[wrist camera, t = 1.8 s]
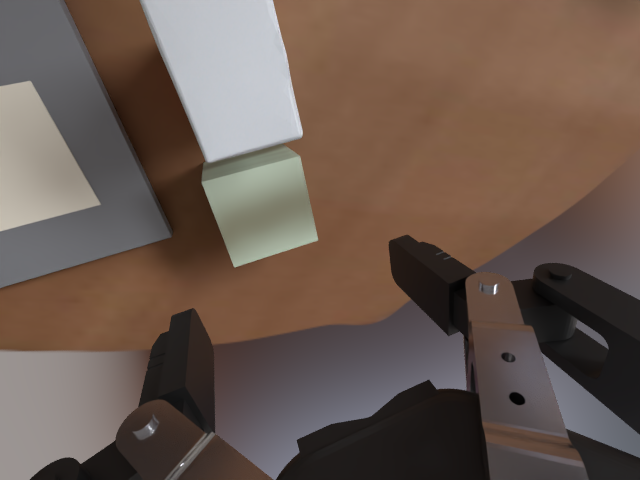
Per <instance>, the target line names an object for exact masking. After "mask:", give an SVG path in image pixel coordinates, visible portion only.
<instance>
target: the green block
mask: <svg viewBox="0 0 640 480" xmlns="http://www.w3.org/2000/svg"><path fill="white" fill-rule="evenodd" d="M202 185H203V187H204V190H205V193H206V195H207V198H208V200H209V203H210V206H211V208H212V211H213V213H214V216H215V219H216V221H217V224H218V226H219V229H220V232H221V234H222V237H223V239H224V242H225V245H226V247H227V250H228V252H229V255H230V258H231V260H232V263H233V265H234V267H237V266H240V265H243V264H246V263H249V262H253V261H256V260H259V259H262V258H265V257H268V256H271V255H274V254H277V253H280V252H283V251H286V250H289V249H293V248H296V247H299V246H302V245H305V244H308V243H311V242H314V241H317V240H318V237H317V232H316V228H315V223H314V218H313V214H312V209H311V205H310V200H309V195H308V191H307V186H306V182H305V177H304V172H303V168H302V163H301V159H300V156H299V155H298V154H296V153H295V152H294V151H292V150H291V149H289V148H288V147H286V146H285V145H283V144H279V145H275V146H272V147H268V148H264V149H261V150H257V151H253V152H249V153H246V154H242V155H238V156H235V157H231V158H227V159H223V160H220V161H216V162H212V163H207V162H203V171H202Z"/></svg>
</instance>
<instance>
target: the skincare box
mask: <svg viewBox="0 0 640 480" xmlns="http://www.w3.org/2000/svg"><path fill="white" fill-rule="evenodd" d="M140 3H141V5H142V8H143V11H144V13H145V16H146V19H147V21H148V24H149V26H150V29H151V32H152V34H153V37H154V39H155V42H156V44H157V46H158V49H159V51H160V54H161V56H162V59H163V61H164V63H165V65H166V68H167V70H168V72H169V74H170V77H171V79H172V81H173V84H174V86H175V88H176V91H177V93H178V95H179V98H180V100H181V102H182V105H183V107H184V110H185V112H186V114H187V117H188V119H189V122H190V124H191V126H192V129H193V131H194V134H195V136H196V138H197V141H198V143H199V146H200V148H201V150H202V153H203V156H204V158H205V161H206V162H207V163H212V162H216V161H220V160H223V159H227V158H231V157H235V156H238V155H242V154H246V153H249V152H253V151H257V150H261V149H264V148H268V147H272V146H275V145H279V144H282V143H286V142H289V141H293V140H297V139H300V138H301V137H302V135H303V131H302V127H301V122H300V118H299V114H298V110H297V106H296V101H295V96H294V92H293V88H292V83H291V78H290V72H289V65H288V60H287V55H286V51H285V47H284V43H283V40H282V37H281V33H280V29H279V25H278V21H277V16H276V12H275V8H274V4H273V0H140Z"/></svg>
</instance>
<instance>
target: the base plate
mask: <svg viewBox="0 0 640 480" xmlns="http://www.w3.org/2000/svg"><path fill="white" fill-rule="evenodd" d="M172 234H173V231H172V229H171V227H170V225H169V222H168V220H167V218H166V216H165V214H164V212H163V210H162V208H161V205H160V203H159V201H158V199H157V197H156V195H155V193H154V191H153V188H152V186H151V184H150V182H149V180H148V178H147V176H146V174H145V171H144V169H143V167H142V165H141V163H140V161H139V159H138V157H137V154H136V152H135V150H134V148H133V146H132V144H131V142H130V140H129V137H128V135H127V133H126V131H125V129H124V127H123V125H122V123H121V120H120V118H119V116H118V114H117V112H116V110H115V108H114V106H113V103H112V101H111V99H110V97H109V95H108V93H107V91H106V89H105V86H104V84H103V82H102V80H101V78H100V76H99V74H98V72H97V69H96V67H95V65H94V63H93V61H92V59H91V57H90V55H89V52H88V50H87V48H86V46H85V44H84V42H83V40H82V38H81V35H80V33H79V31H78V29H77V27H76V25H75V23H74V21H73V18H72V16H71V14H70V12H69V10H68V8H67V6H66V4H65V1H64V0H0V288H1V287H5V286H8V285H12V284H15V283H18V282H22V281H25V280H28V279H32V278H35V277H39V276H42V275H45V274H49V273H52V272H55V271H59V270H62V269H66V268H69V267H72V266H76V265H79V264H82V263H86V262H89V261H93V260H96V259H99V258H103V257H106V256H110V255H113V254H116V253H120V252H123V251H126V250H130V249H133V248H137V247H140V246H143V245H147V244H150V243H153V242H157V241H160V240H164V239H167V238H170V237H172Z"/></svg>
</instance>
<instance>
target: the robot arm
mask: <svg viewBox="0 0 640 480" xmlns="http://www.w3.org/2000/svg"><path fill="white" fill-rule="evenodd" d="M389 253H390V263H391V272H392V276H393V278H394V281H395V282H396V284H397V285H398V286H399V287H400V288H401V289H402V290H403V291H404V292H405V293H406V294H407V295H408V296H409V297H410V298H411V299H412V300H413V301H414V302H415V303H416V304H417V305H418V306H419V307H420V308H421V309H422V310H423V311H424V312H425V313H426V314H427V315H428V316H429V317H430V318H431V319H432V320H433V321H434V322H435V323H436V324H437V325H438V326H439V327H440V328H441V329H442V330H443V331H444V332H445V333H446V334H447V335H448V336H450V335H452V334H455V333H457V332H459V331H460V332H461V333H462V334H463V336H464V337H463V344H464V360H465V373H466V391H465V390H459V389H438V390H437V389H436V388H435V387H434V386H433V384H432V383H431V382H430V380H427V381H425V382H423V383H421V384H418V385H416V386H414V387H412V388H409V389H407V390H405V391H403V392H401V393H399V394H397V395H396V396H395V397H394V398H393V399H391V400H390V401H389V402H388V403H387V404H386V405H384V406H383V407H382V408H381V409H380V410H378V412H376V413H375V414H374V415H372V416H371V417H368V418H364V419H358V420H352V421H346V422H341V423H335V424H331V425H329V426H326V427H324V428H322V429H320V430H318V431H315V432H313V433H311V434H309V435H306V436H305V437H302V438H300V439H298V440H297V443H298V447H299V451H300V453H299V454H297V455H296V456H295V457H294V458H293V459H292V460H291V461H290V462H289V463H288V464H287V465H286V466H285V468H284V469H283V470H282V471H281V473H280V474H279V476H278V477H277V479H276V480H640V458H638V457H636V456H633V455H631V454H628V453H626V452H623V451H621V450H618V449H616V448H613V447H611V446H608V445H606V444H603V443H601V442H598V441H596V440H593V439H591V438H588V437H585V436H583V435H580V434H578V433H575V432H573V431H570V430H568V429H566V428H565V425H564V422H563V419H562V416H561V412H560V409H559V406H558V403H557V400H556V397H555V394H554V391H553V388H552V385H551V381H550V378H549V375H548V372H547V369H546V366H545V363H544V360H543V357H542V354H541V352H542V353H543V354H544V355H545V356H546V357H548V358H549V359H550V360H551V361H552V362H554V363H555V364H556V365H557V366H558V367H560V368H561V369H562V370H563V371H564V372H566V373H567V374H568V375H569V376H570V377H572V378H573V379H574V380H575V381H576V382H578V383H579V384H580V385H581V386H582V387H584V388H585V389H586V390H587V391H588V392H589V393H591V394H592V395H593V396H594V397H596V398H597V399H598V400H599V401H600V402H602V403H603V404H604V405H605V406H606V407H607V408H609V409H610V410H611V411H612V412H613V413H615V414H616V415H617V416H618V417H619V418H621V419H622V420H623V421H624V422H625V423H627V424H628V425H629V426H630V427H631V428H633V429H634V430H635V431H636V432H637V433H639V434H640V300H638V299H636V298H634V297H633V296H631V295H628V294H626V293H625V292H623V291H621V290H619V289H617V288H615V287H613V286H611V285H609V284H607V283H605V282H603V281H601V280H599V279H597V278H595V277H593V276H591V275H589V274H587V273H585V272H583V271H581V270H579V269H577V268H575V267H572V266H569V265H565V264H560V263H547V264H542V265H539V266H538V267H536V268H535V270H534V274H533V279H526V280H519V281H510V280H508V279H507V278H506V277H504V276H502V275H499V274H495V273H490V272H481V273H476V272H474V271H473V270H471V269H470V268H468V267H467V266H465V265H464V264H462V263H461V262H459V261H458V260H456V259H454V258H453V257H452V258H451V256H450V255H448V254H447V253H445V252H443V251H442V250H441V249H439V248H438V247H436V246H435V245H432V244H428V243H425V242H420V243H419V242H418V241H416V240H415V239H413V238H412V237H410V236H409V235H404V236H401V237H399V238H396V239H393V240H390V241H389ZM577 320H579V321H581V322H582V323H584V324H585V325H587V326H589V327H590V328H592V329H593V330H595V331H596V332H598V333H599V334H600V335H601V336H602V337H603V338H604V339H605V340H606V342H607V344H608V347H609V350H608V349H607V348H605V347H604V346H602V345H601V344H599V343H598V342H597V341H595V340H594V339H592V338H591V337H589V336H588V335H586V334H585V333H583V332H582V331H580V330H579V329H577V328H576V324H577ZM147 368H148V371H147V372H146V376H145V381H144V385H143V389H142V393H141V398H140V402H139V406H138V408H137V409H136V410H134V411H133V412H132V413H131V414H130V415H129V416H128V417H127V418H126V419H125V420H124V422H123V423H122V425H121V426H120V428H119V430H118V432H117V435H116V440H115V441H114V442H113V443H111V444H110V445H108V446H107V447H106V448H104V449H103V450H101V451H100V452H98V453H97V454H95V455H94V456H92V457H91V458H89V459H88V460H86V461H85V462H83V463H82V464H80V463H79V462H78V461H77V460H76V459H74V458H62V459H59V460H57V461H54V462H52V463H50V464H49V465H47V466H46V467H44V468H43V469H41V470H40V471H39V472H38V473H37V474H35V475H34V476H33V477H32V478H31V479H30V480H273V479H272V478H271V477H269V476H268V475H267V474H265V473H264V472H263V471H262V470H260V469H259V468H258V467H257V466H255V465H254V464H253V463H252V462H250V461H249V460H248V459H247V458H245V457H244V456H243V455H242V454H240V453H239V452H238V451H237V450H235V449H234V448H233V447H231V446H230V445H229V444H228V443H226V442H225V441H224V440H222V439H221V438H220V437H219V436H218V435H216V434H215V395H214V352H213V346H212V343H211V340H210V338H209V336H208V334H207V332H206V330H205V328H204V326H203V324H202V322H201V320H200V318H199V316H198V314H197V312H196V310H195V309H194V308H192V309H189V310H187V311H184V312H181V313H178V314H175V315H173V316H172V317H171V322H170V328H169V331H168V332H165V333H162V334H160V336H159V337H158V339H157V340H156V342H155V343H154V345H153V346H152V350H151V354H150V361H149V363H148V367H147Z"/></svg>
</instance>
